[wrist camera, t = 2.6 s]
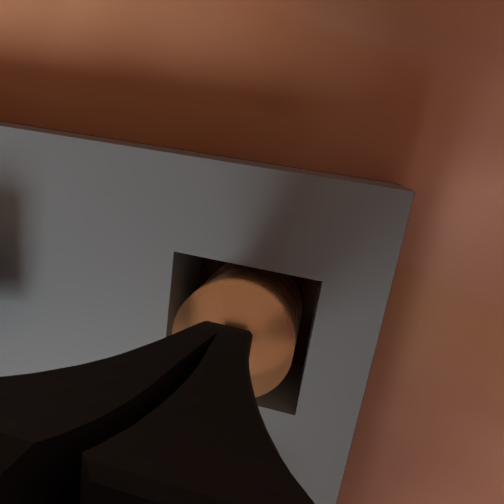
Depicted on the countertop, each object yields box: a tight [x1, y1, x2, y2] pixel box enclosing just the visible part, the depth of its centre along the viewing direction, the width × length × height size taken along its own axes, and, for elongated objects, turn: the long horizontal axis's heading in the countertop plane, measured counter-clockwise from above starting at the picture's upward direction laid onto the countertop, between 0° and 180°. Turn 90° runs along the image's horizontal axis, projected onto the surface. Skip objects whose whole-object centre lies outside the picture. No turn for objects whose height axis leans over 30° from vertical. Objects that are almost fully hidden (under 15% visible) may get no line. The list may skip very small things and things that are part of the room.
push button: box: [172, 263, 302, 397], centre depth 13 cm, size 4×4×3 cm
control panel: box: [0, 121, 415, 504], centre depth 14 cm, size 18×18×5 cm
